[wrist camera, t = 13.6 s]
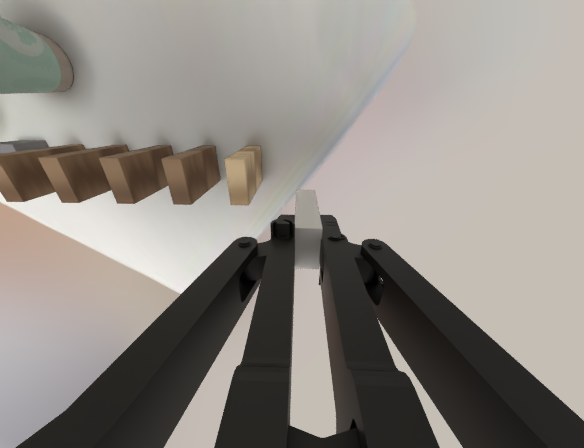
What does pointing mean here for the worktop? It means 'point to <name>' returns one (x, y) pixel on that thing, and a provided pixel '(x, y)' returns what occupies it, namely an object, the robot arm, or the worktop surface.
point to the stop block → (21, 146)
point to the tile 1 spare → (244, 174)
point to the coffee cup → (31, 62)
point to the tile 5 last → (28, 173)
